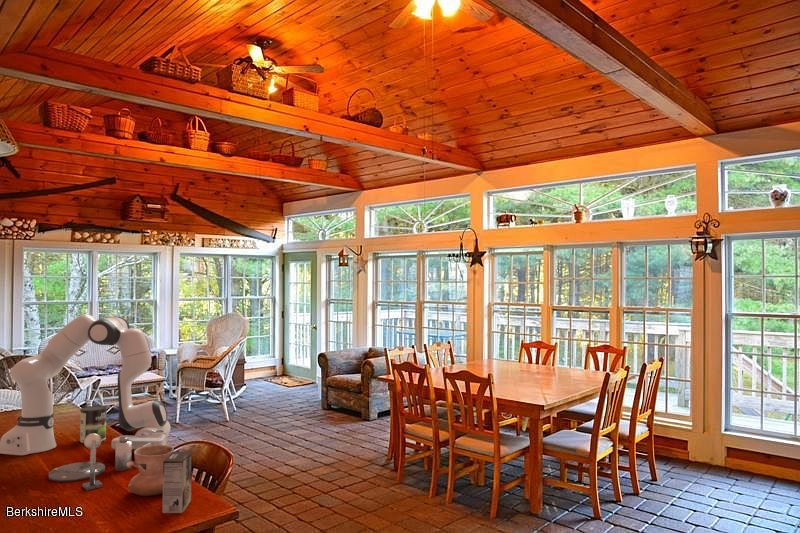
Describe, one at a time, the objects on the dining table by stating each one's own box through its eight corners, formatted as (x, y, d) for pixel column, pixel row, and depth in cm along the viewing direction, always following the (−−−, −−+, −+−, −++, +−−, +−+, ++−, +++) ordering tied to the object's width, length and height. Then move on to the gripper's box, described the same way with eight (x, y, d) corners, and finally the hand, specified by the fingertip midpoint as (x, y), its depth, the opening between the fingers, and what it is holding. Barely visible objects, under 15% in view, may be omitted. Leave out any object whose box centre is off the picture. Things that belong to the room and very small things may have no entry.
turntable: (36, 481, 197) (37, 477, 197) (67, 464, 215) (68, 460, 215) (87, 482, 197) (87, 478, 197) (114, 465, 215) (114, 461, 215)
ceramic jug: (130, 504, 178) (132, 459, 179) (119, 490, 189) (121, 448, 190) (188, 492, 189) (189, 450, 190) (174, 480, 201) (176, 440, 201)
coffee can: (111, 437, 252) (112, 406, 253) (94, 443, 242) (95, 411, 243) (91, 435, 254) (92, 404, 255) (74, 442, 244) (74, 409, 245)
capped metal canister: (112, 470, 209) (112, 439, 209) (119, 465, 215) (120, 435, 215) (126, 470, 209) (127, 439, 209) (134, 465, 215) (134, 435, 215)
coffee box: (171, 501, 181) (172, 451, 181) (191, 501, 181) (192, 451, 182) (161, 513, 172) (162, 460, 172) (182, 513, 172) (184, 460, 172)
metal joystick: (102, 486, 193) (103, 434, 193) (86, 490, 189) (87, 437, 190) (98, 482, 196) (99, 431, 197) (82, 486, 193) (83, 434, 193)
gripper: (121, 430, 231) (103, 440, 217) (170, 431, 230) (155, 440, 217) (121, 445, 230) (102, 456, 217) (170, 446, 230) (155, 457, 216)
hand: (129, 448), depth 217 cm, fingers open, 8 cm apart
